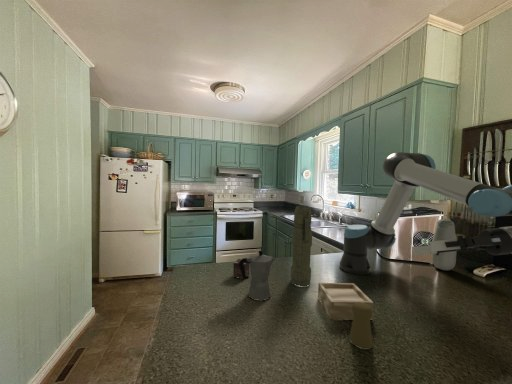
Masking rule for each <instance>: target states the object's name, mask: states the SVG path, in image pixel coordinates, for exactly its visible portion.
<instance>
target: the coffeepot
mask: <svg viewBox="0 0 512 384" xmlns="http://www.w3.org/2000/svg"><path fill="white" fill-rule="evenodd" d="M241 259H242V260H241V261H240V262H239V267H240V270H241V273H242V276H243V279H242V280H244V279H245V280H248V279H249V278H250V277H249V276H251V279H250V286H249V291H248V296H250V297H252V298H253V299H259V300H264V299H267V298H269V297H270V298H271V291H270V290H271V289H270V281H269V276H270V273H271V267H272V264H273V263H274V261H275V260H276V259H277V258H276V257H275V256H272V255H266V254H263V250H259V251H258V254H253V255H250V256H249V257H243V258H241ZM244 263H250V264H249V271H250V275H249V276H245V271H244V266H243V264H244ZM270 298H269V299H270Z"/></svg>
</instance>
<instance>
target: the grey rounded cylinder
mask: <svg viewBox="0 0 512 384" xmlns="http://www.w3.org/2000/svg"><path fill="white" fill-rule="evenodd" d="M450 239H457V240H458V238H457V235H456V226H455V223H454V221H453V220H452V219H448V218H440V219H438V221H437V222H436V227H435V231H434V234H433V238H432V241H440V240H450ZM457 252H458V251H452V252H444V253H439V255H436V254H431V260H432V264H433V266H434V267H436V268H437V269H439V270H441V271H447V272H448V271H451V270H453V269H454V268H455V266H456V264H457V263H456V262H457Z"/></svg>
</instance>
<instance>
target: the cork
mask: <svg viewBox="0 0 512 384" xmlns="http://www.w3.org/2000/svg"><path fill="white" fill-rule="evenodd" d="M352 312H353V314H354V316H353V321H352V322H351V327H350V332H349V337H350V340H351V341H352V343H354V344H355V345H357V346H359V347H362V348H370V347H372V346H373V338H372V329H371V328H372V327H371V321H370V318H371V317H372V309H371V307H370V306H369V305H367V304H366V303H363V302H355V303H354V304H353V306H352ZM349 337H348V338H349ZM372 348H373V347H372Z"/></svg>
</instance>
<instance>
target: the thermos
mask: <svg viewBox="0 0 512 384" xmlns="http://www.w3.org/2000/svg"><path fill="white" fill-rule="evenodd" d="M293 213H294V214H293V217H294V218H293V223H294V224H293V229H292V231H291V233H292V234H291V245H292V260H291V262H292V263H291V267H290V283H291V282H292V283H293V284H296V285H300V286H307V285H309V284H310V285H311V278H312V268H311V250H312V246H313V231H312V226H311V225H312V215H313V214H312V210H311V207H310V206H309V205H303V204H302V205H300V204H299V205H297V206H295V209H294V211H293Z"/></svg>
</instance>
